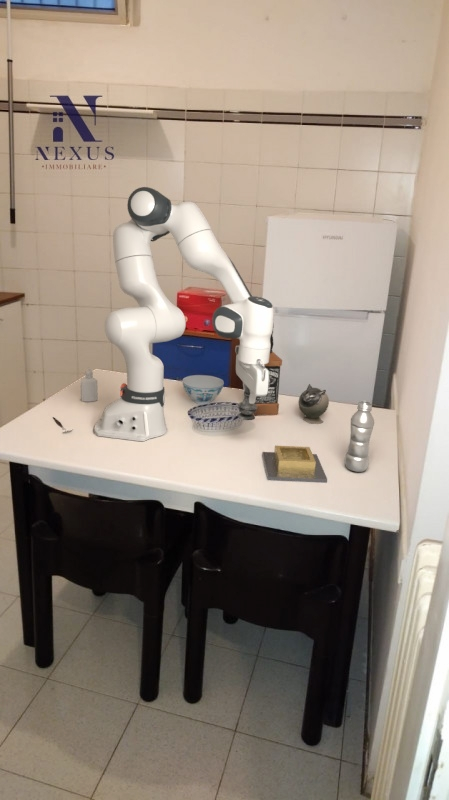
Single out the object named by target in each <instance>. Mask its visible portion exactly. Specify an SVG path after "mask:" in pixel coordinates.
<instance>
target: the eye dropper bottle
mask: <svg viewBox="0 0 449 800" xmlns="http://www.w3.org/2000/svg"><path fill="white" fill-rule="evenodd" d="M93 373H94V372H93V371H92V370H91V368H90V367H87V369H86V371H85V373H84V374H85V375H84V377H83V378H82V379H81V380H80V400H81V401H82V402H84V403H90V402H96V401H98V397H99V396H98V395H99V391H98V379H97V378H95V377H93Z"/></svg>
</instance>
